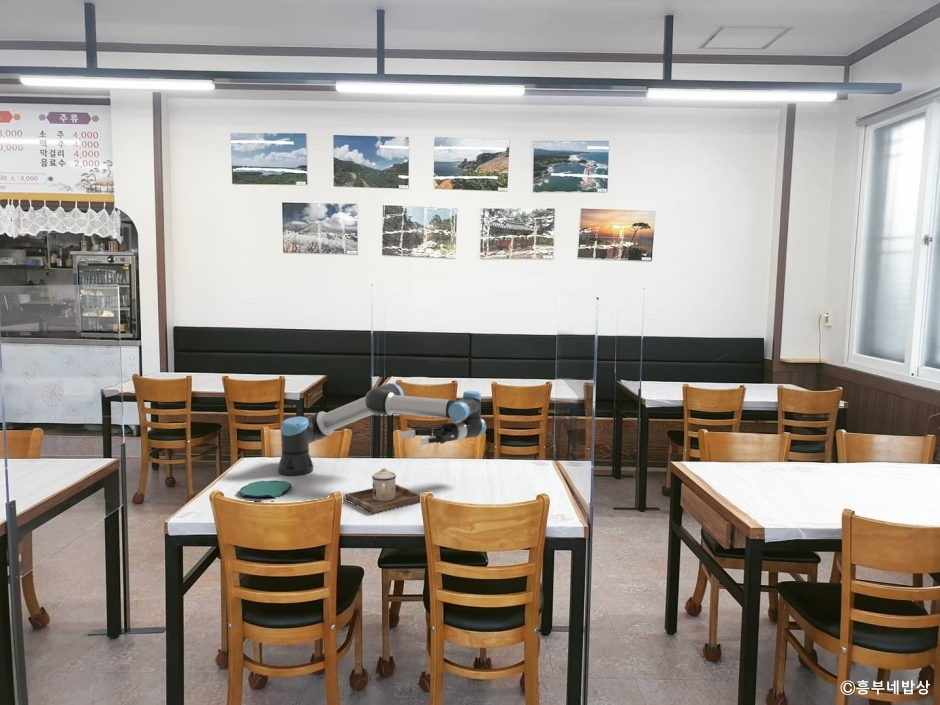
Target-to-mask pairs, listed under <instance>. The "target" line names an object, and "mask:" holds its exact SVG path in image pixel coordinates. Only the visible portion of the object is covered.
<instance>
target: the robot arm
mask: <svg viewBox="0 0 940 705" xmlns="http://www.w3.org/2000/svg"><path fill="white" fill-rule="evenodd" d="M481 405H482V395H481V392H480V391H477V390H466V391H463V394H462V399H461V400H460V399H459V400H456V399H448V398H447V399H446V398H445V399H444V398H433V397H432V398H431V397H421V396H420V397H419V396H411V395H405V394H404V390H403V389H402V387H401V386H400V385H399V384H397V383H390V382H389V383H386V384H383V385H379V386H376V387H373V388H371V389H370V390H369V391H367V393H366V395H365V396H364V397H361V398H358V399H356V400H354V401H352V402H349V403H347V404H344V405H342V406H340V407H337V408H335V409H333V410H330V411H328V412H325V411H319V412H316V413H314V414H312V415H310V416H307V417H305V416H293V417H289V418H286V419H284V420H283V421H282V422H281V427H280V435H281V436H280V437H281V438H280V439H281V440H280V442H281V457H280V459H279V462H278V466H277V473H278V474H279V475H284V476H302V475H307V474H310V473H312V472H313V471H314V463H313V461H312V458H311V456H310V445H309V444H312V443H313V442H317V441H319V440H323V439H324V438H326V437H329V436H331V435H332V434H333V433H334V430H337V429H339V428H342V427H345V426H347V425H349V424H352V423H355V422H357V421H360V420H362V419H364V418H365V419H366V418H367V417H369V416H372V415H374V416H377V417H379V416H382V415H383V416H392V415H393V414H399V415H410V416H421V417H431V418H433V417H435V418H441V419H442V418H444V419H451V420H452V422H451V421H450V422H446V423H443V424H442V425H441V427H435V426H431V427H412V428H411V429H409V430H402V431H400V439H407V438H415V437H417V436H418V437H419V436H420V437H421V436H423V437H421V438H420V443H419V444H420V445H419V446H426V445H430V444H441V445H442V444H445V443H446V442H452V441H458V442H459V441H461V440H463V439H468V438H469V439H470V438H477V437H480V436H482V435H484V434H485V433H486V431H487V425H486V421H485V420H484V419H483V418H482V417H481V413H482V412H481Z"/></svg>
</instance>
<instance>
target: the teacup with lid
mask: <svg viewBox="0 0 940 705" xmlns="http://www.w3.org/2000/svg"><path fill="white" fill-rule="evenodd" d="M396 477H397V475H396V474H395V472H392V471H389V470H388V469H387V468H386V467H382V468H381V470H379V471H377V472H375V473H373V474H372V475H371V478H372V488H373V499H374V500H376V501H390V500H393V499H395V497H396V489H395V484H396Z"/></svg>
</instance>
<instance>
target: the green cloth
mask: <svg viewBox="0 0 940 705" xmlns="http://www.w3.org/2000/svg"><path fill="white" fill-rule="evenodd" d="M292 485H293V483H290V482H289V481H287V480H258V481H254V482H253V481H252V482H249V483H248V484H245V485H244V486H242V487H241V488H240V489H239V491H238V494H239V496H241V497H243V495H244V497H248V498H268V497H273V498H274V499H277V498H276V497H278V498H279V497H280V496H281V495H282V494H285V493H287V492H288V491H290V490H291V489H292ZM251 500H252V501H263V500H262V499H255V500H253V499H251ZM270 501H271V503H273V502H274V503H275V500H270Z"/></svg>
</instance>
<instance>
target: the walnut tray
mask: <svg viewBox="0 0 940 705" xmlns="http://www.w3.org/2000/svg"><path fill="white" fill-rule="evenodd" d="M395 489H396V497H395V499H393V500H390V501H376V500H374V499H373V487H372V488H367V489H362V490H358V491H353V492H349V493H345V495H344V496H345V497H344V498H345V499H344V500H347V501H350V502H352V503H354V504H355V505H358V506H359V507H361V508H363V509H364V510H363V509H362V510H363V511H365V510H366V511H365V512H367V511H368V512H367V513H369V512H370V513H369V514H371V513H372V514H371V515H376V514H375V513H377V514H381V513H384V512H383V511H385V512H388V511H387V510H389V511H392V510H391V509H393V510H396V509H395V508H397V509H400V508H399V507H401V508H404V507H403V506H405V507H408V505H409V506H411V505H412V506H413V505H416V504H421V503H420V495H421V494H420V493H417V492H414V491H413V490H410V489H407V488H406V487H404V486H400V485H399V484H396V483H395ZM347 501H346V502H347ZM355 505H354V506H355ZM359 507H358V508H359ZM361 508H360V509H361ZM380 512H381V513H380Z"/></svg>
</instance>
